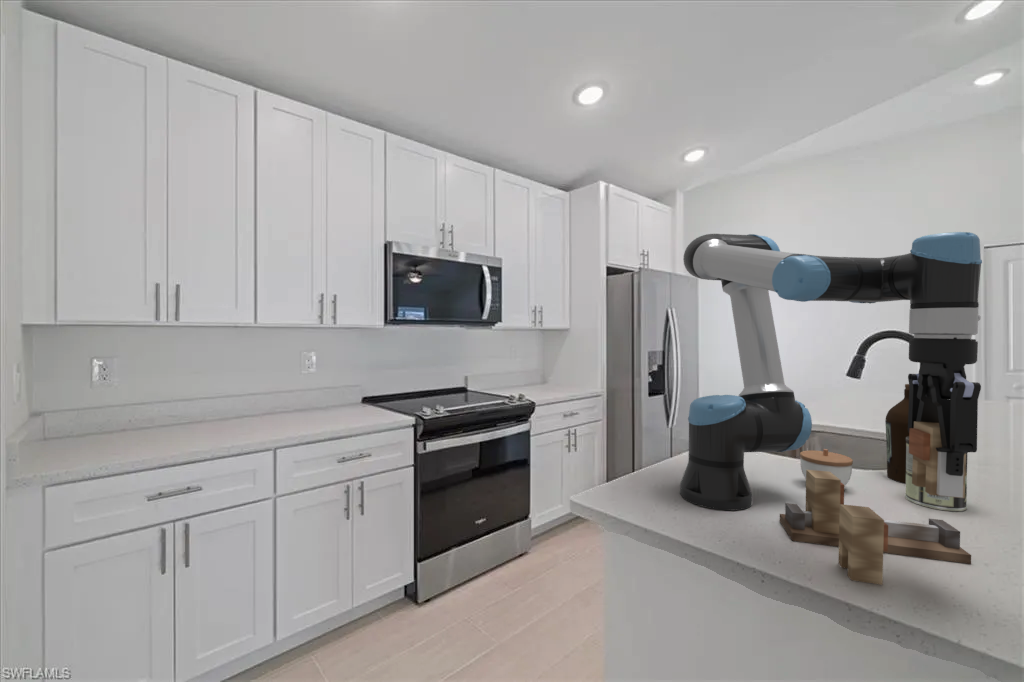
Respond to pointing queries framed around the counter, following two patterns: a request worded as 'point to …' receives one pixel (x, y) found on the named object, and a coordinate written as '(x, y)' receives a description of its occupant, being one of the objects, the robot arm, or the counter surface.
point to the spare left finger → (862, 543)
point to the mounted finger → (824, 500)
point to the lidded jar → (827, 463)
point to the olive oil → (897, 438)
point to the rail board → (902, 536)
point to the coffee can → (927, 500)
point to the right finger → (927, 456)
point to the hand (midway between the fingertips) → (937, 488)
